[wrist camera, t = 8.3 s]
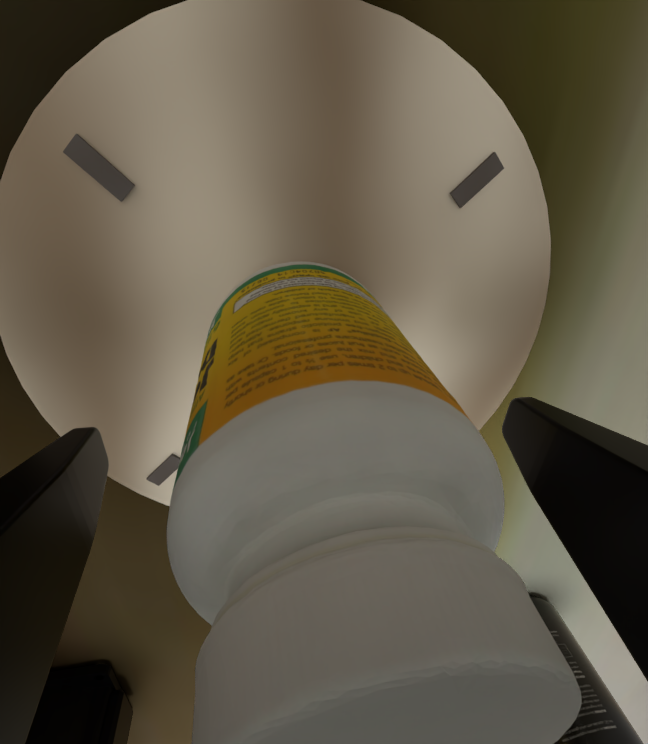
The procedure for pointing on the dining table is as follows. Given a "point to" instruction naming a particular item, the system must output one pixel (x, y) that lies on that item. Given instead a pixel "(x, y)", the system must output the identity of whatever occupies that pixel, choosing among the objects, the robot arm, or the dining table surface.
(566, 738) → the supplement bottle
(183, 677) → the dining table surface
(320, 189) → the turntable
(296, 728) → the supplement bottle
